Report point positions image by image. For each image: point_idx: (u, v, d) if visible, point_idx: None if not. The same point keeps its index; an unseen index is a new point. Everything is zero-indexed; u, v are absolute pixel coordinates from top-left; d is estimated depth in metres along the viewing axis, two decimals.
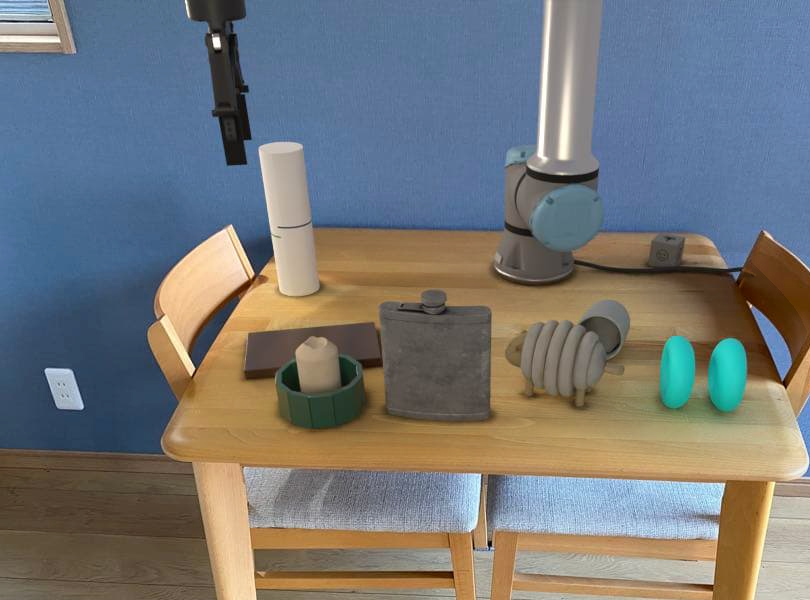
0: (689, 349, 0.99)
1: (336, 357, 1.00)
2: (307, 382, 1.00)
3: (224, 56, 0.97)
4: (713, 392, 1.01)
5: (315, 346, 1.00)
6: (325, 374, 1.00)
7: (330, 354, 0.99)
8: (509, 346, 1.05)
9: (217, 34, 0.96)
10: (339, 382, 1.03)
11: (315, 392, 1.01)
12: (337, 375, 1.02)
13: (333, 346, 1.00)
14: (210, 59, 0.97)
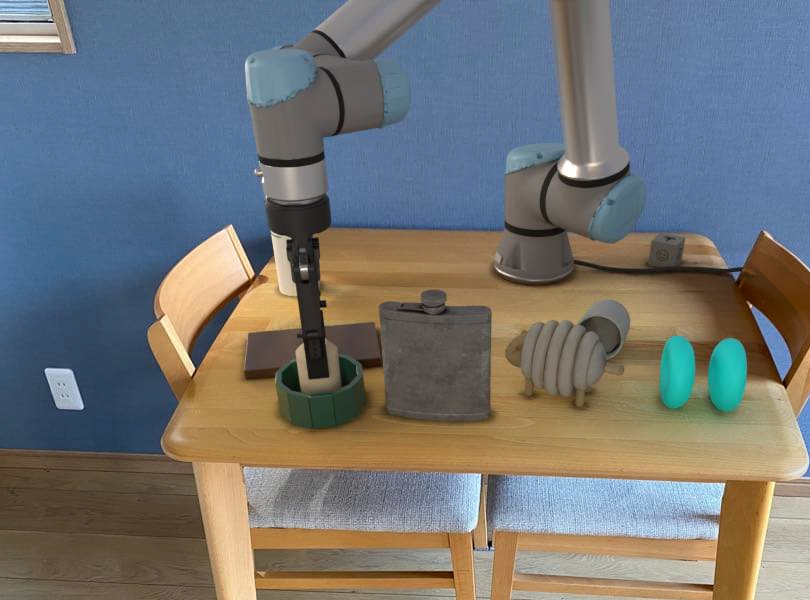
0: (689, 349, 0.99)
1: (336, 357, 1.00)
2: (308, 382, 1.00)
3: (312, 286, 0.89)
4: (713, 392, 1.01)
5: None
6: None
7: (330, 354, 0.99)
8: (509, 346, 1.05)
9: (305, 268, 0.87)
10: (339, 382, 1.03)
11: (315, 392, 1.01)
12: (337, 375, 1.02)
13: (333, 346, 1.00)
14: (297, 290, 0.89)
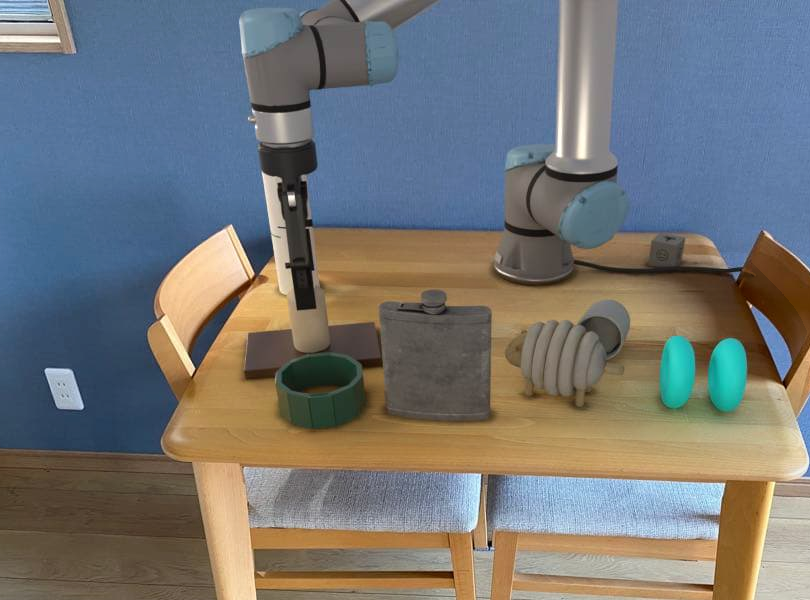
0: (689, 349, 0.99)
1: (323, 299, 1.12)
2: (297, 322, 1.11)
3: (299, 213, 0.98)
4: (713, 392, 1.01)
5: None
6: (313, 314, 1.11)
7: (318, 296, 1.10)
8: (509, 346, 1.05)
9: (292, 193, 0.97)
10: (326, 323, 1.14)
11: (304, 331, 1.12)
12: (324, 316, 1.13)
13: (320, 290, 1.12)
14: (285, 216, 0.98)
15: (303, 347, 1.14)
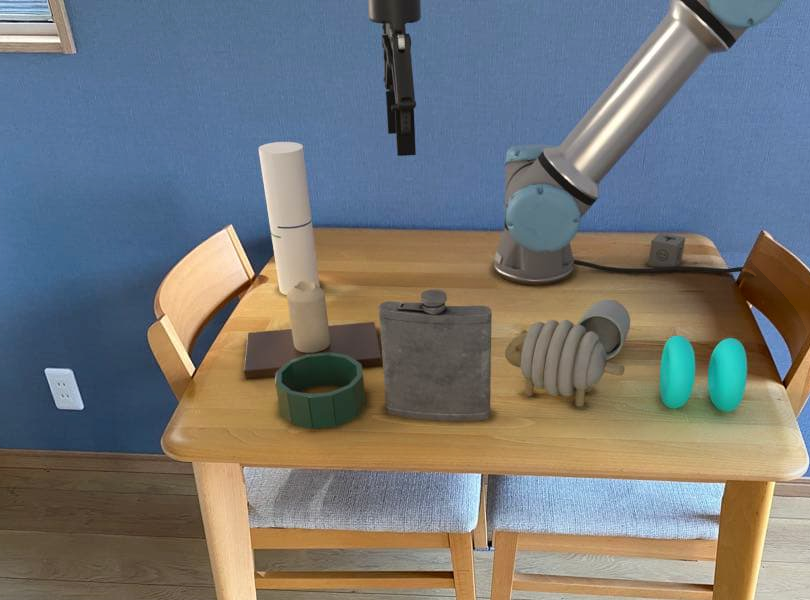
0: (689, 349, 0.99)
1: (323, 299, 1.12)
2: (298, 322, 1.11)
3: (407, 55, 1.06)
4: (713, 392, 1.01)
5: (304, 290, 1.11)
6: (313, 314, 1.11)
7: (318, 296, 1.10)
8: (509, 346, 1.05)
9: (402, 35, 1.05)
10: (326, 323, 1.14)
11: (304, 331, 1.12)
12: (325, 316, 1.13)
13: (320, 290, 1.12)
14: (395, 58, 1.06)
15: (303, 347, 1.14)
